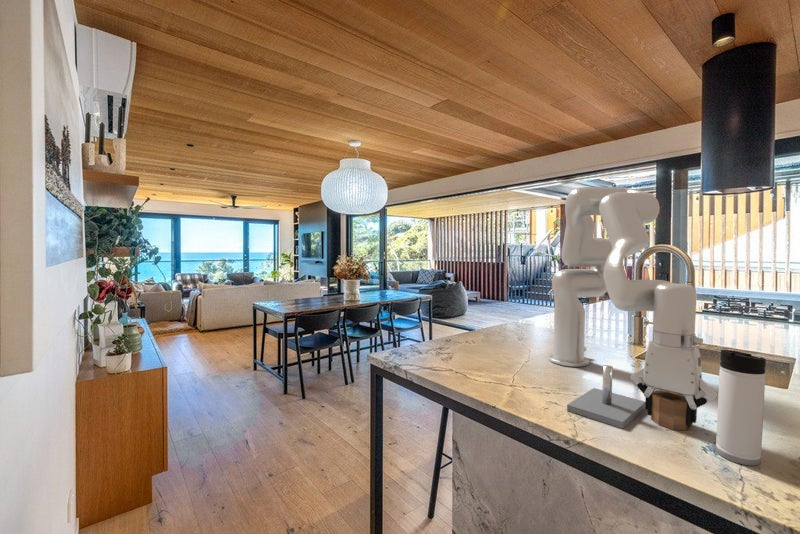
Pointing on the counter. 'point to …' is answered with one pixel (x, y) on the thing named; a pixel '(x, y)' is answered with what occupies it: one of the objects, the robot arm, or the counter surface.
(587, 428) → the counter surface
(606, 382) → the metal rod
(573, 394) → the counter surface
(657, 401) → the walnut bead
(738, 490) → the counter surface
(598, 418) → the rod board
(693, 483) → the counter surface
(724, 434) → the travel mug
